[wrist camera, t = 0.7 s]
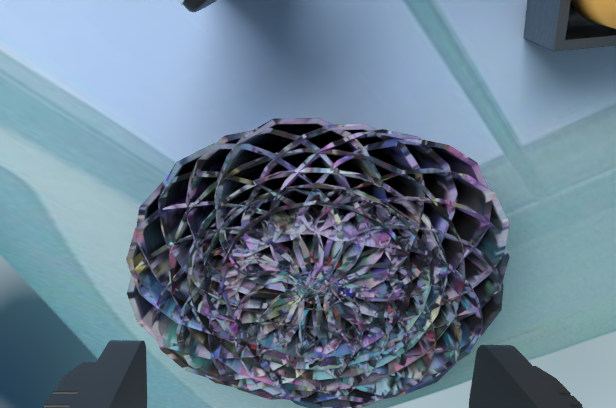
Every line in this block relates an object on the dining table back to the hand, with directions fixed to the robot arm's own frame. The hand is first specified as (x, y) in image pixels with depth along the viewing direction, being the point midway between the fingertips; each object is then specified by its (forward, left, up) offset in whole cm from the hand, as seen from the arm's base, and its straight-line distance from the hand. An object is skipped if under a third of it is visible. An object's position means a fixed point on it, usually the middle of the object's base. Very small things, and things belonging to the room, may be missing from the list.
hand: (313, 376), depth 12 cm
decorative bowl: (+13, -1, -29) cm, 31 cm away
